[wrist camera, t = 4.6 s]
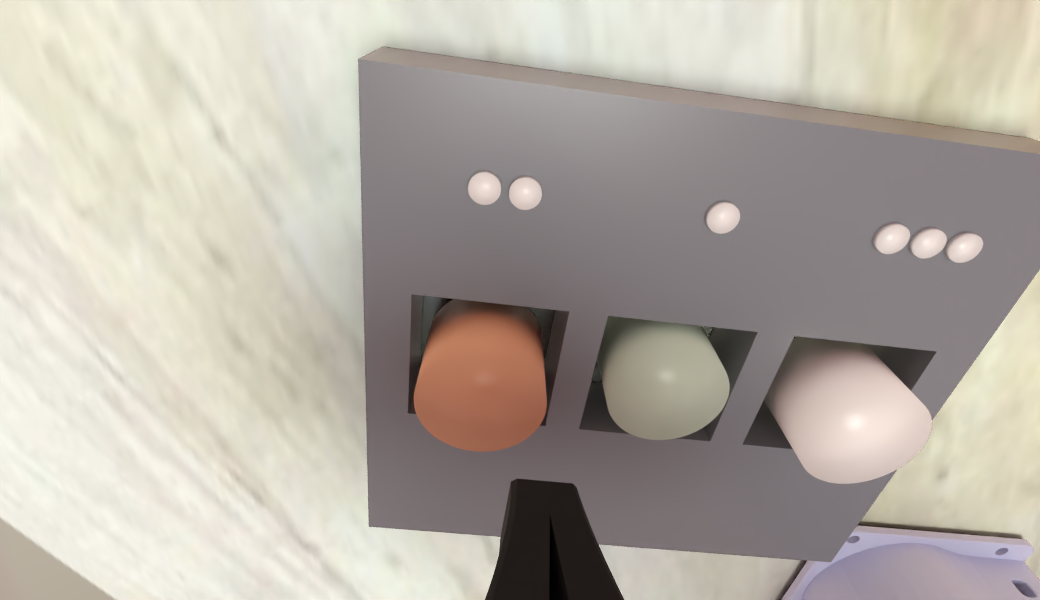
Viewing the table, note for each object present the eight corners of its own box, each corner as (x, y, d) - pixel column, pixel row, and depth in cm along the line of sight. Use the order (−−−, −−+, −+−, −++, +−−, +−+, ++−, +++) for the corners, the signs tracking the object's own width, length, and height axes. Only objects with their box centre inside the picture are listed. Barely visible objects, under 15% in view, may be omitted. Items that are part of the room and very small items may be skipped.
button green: (713, 299, 18) (747, 353, 15) (682, 383, 19) (707, 444, 17) (606, 287, 17) (622, 340, 15) (585, 373, 19) (595, 434, 17)
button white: (891, 336, 17) (958, 399, 14) (841, 419, 19) (892, 488, 16) (783, 323, 17) (831, 386, 14) (743, 409, 19) (780, 478, 16)
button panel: (1029, 137, 15) (1122, 166, 13) (801, 508, 23) (833, 567, 21) (383, 46, 14) (355, 60, 11) (383, 472, 22) (367, 531, 20)
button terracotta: (550, 298, 16) (557, 358, 14) (533, 388, 18) (536, 457, 15) (431, 285, 16) (415, 343, 13) (426, 378, 18) (411, 445, 15)
